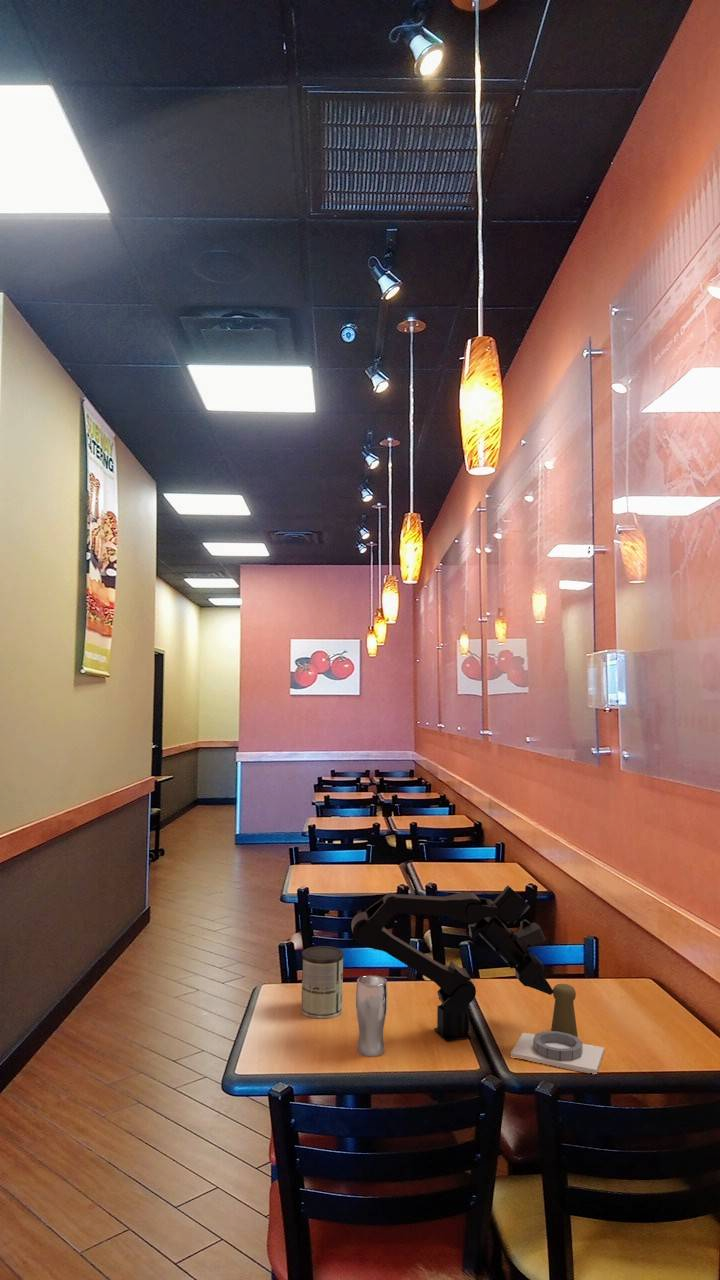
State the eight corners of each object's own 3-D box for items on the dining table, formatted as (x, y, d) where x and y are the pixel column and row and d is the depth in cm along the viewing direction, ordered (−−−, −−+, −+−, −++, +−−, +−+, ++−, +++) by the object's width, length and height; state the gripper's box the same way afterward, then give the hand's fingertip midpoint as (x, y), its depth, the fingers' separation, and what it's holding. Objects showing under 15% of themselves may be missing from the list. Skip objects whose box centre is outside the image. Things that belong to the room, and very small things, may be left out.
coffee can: (296, 1005, 202) (297, 947, 203) (335, 1001, 206) (336, 944, 207) (306, 1021, 193) (308, 960, 194) (347, 1016, 196) (349, 956, 197)
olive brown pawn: (571, 1041, 184) (571, 992, 184) (546, 1034, 187) (546, 985, 188) (581, 1033, 188) (581, 984, 189) (557, 1026, 192) (557, 979, 193)
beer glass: (355, 1043, 180) (356, 974, 182) (386, 1044, 180) (387, 975, 181) (354, 1057, 174) (355, 985, 175) (386, 1058, 173) (387, 986, 174)
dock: (510, 1057, 175) (510, 1043, 175) (522, 1037, 186) (522, 1023, 186) (596, 1074, 167) (596, 1059, 168) (604, 1052, 178) (604, 1038, 179)
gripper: (534, 923, 180) (583, 974, 180) (513, 902, 199) (558, 948, 198) (499, 960, 179) (548, 1011, 179) (482, 935, 198) (526, 981, 197)
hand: (546, 986), depth 188 cm, fingers open, 9 cm apart
